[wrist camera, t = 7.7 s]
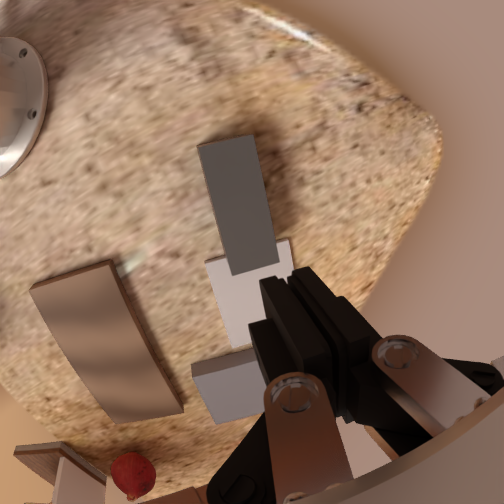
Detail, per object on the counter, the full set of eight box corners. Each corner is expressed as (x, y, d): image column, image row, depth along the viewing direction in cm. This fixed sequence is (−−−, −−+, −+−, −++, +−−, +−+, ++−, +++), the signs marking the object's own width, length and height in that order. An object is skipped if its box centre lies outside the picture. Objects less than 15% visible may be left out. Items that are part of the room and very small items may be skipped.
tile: (192, 377, 27) (275, 354, 28) (191, 361, 29) (269, 340, 30) (216, 424, 30) (286, 405, 31) (213, 409, 32) (280, 391, 33)
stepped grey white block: (173, 152, 22) (170, 155, 18) (264, 129, 22) (279, 128, 19) (231, 344, 29) (238, 372, 25) (301, 323, 29) (316, 347, 26)
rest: (33, 284, 22) (28, 290, 21) (111, 258, 23) (108, 264, 22) (116, 416, 30) (115, 424, 29) (183, 404, 30) (183, 412, 29)
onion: (145, 439, 32) (145, 492, 25) (161, 460, 34) (164, 508, 27) (106, 442, 31) (100, 492, 24) (124, 463, 33) (122, 509, 26)
